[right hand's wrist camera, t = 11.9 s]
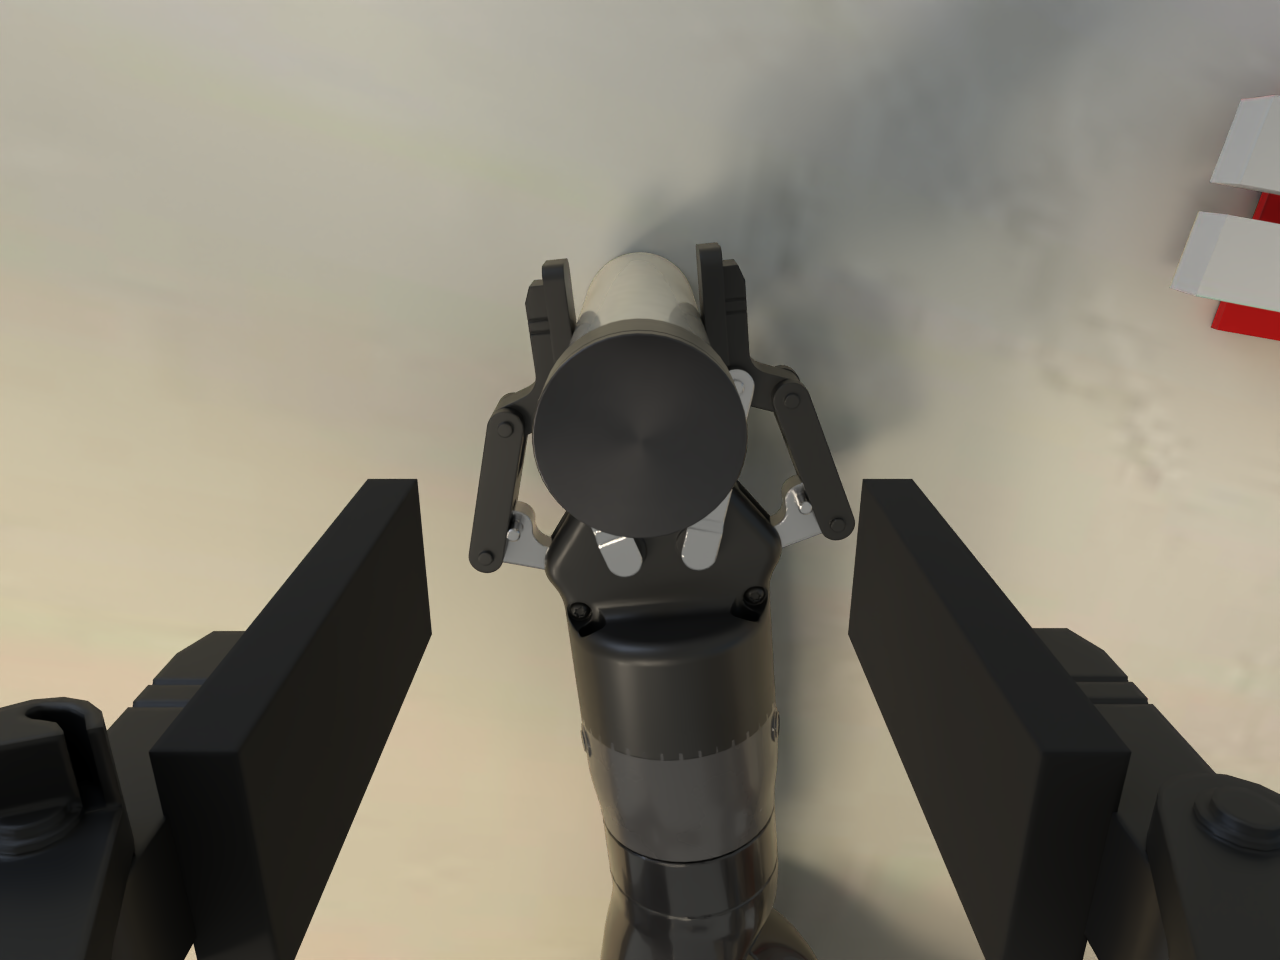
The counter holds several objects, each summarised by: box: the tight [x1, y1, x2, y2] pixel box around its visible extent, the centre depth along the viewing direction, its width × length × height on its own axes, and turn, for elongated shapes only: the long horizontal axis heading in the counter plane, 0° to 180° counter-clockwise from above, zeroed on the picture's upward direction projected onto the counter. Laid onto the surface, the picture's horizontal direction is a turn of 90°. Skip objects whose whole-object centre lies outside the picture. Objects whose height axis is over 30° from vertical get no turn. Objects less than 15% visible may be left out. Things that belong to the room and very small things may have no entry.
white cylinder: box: [569, 252, 711, 347], centre depth 28 cm, size 4×4×16 cm
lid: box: [532, 318, 748, 538], centre depth 20 cm, size 5×5×2 cm
